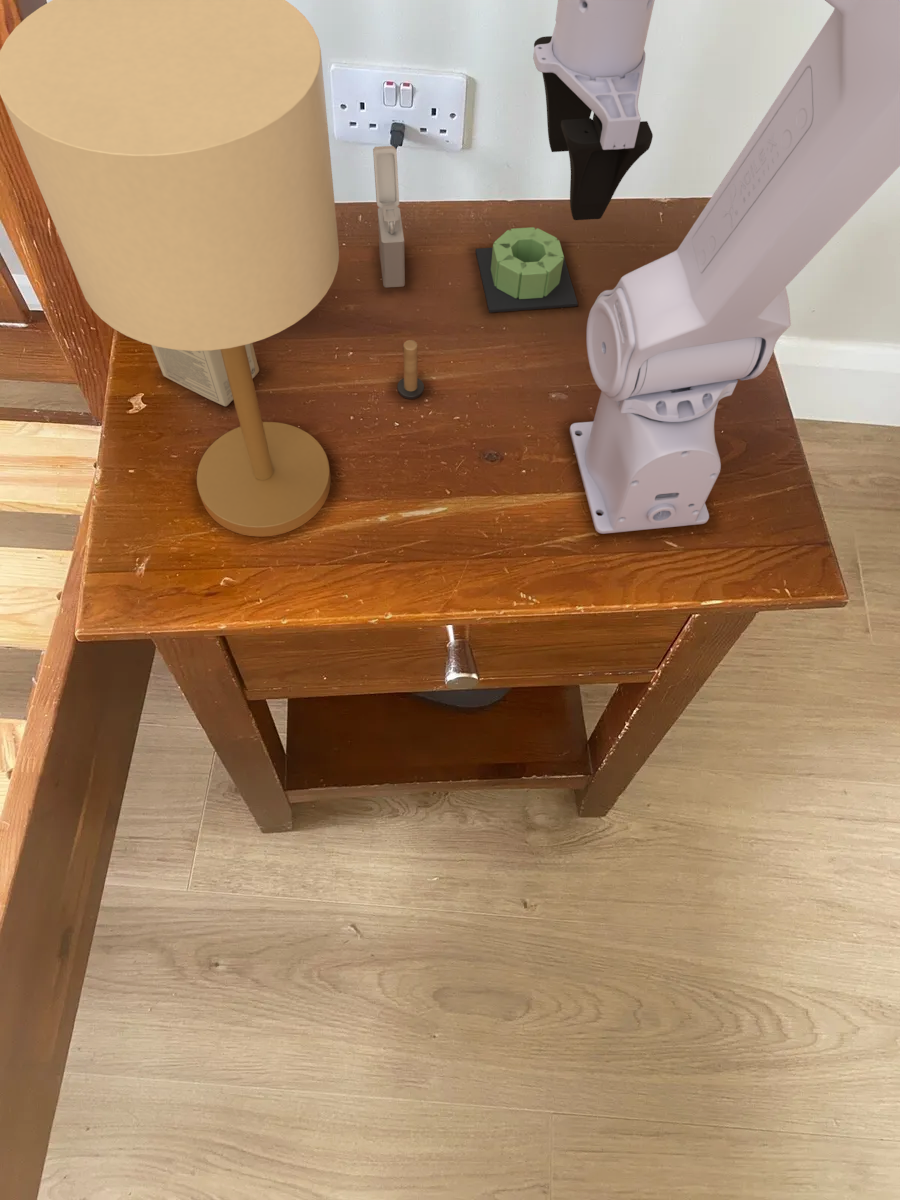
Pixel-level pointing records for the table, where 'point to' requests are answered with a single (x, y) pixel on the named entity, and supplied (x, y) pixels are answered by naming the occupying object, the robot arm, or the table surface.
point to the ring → (526, 263)
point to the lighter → (389, 216)
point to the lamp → (191, 200)
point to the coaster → (504, 302)
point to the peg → (410, 373)
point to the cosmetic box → (201, 371)
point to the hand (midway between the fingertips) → (574, 181)
